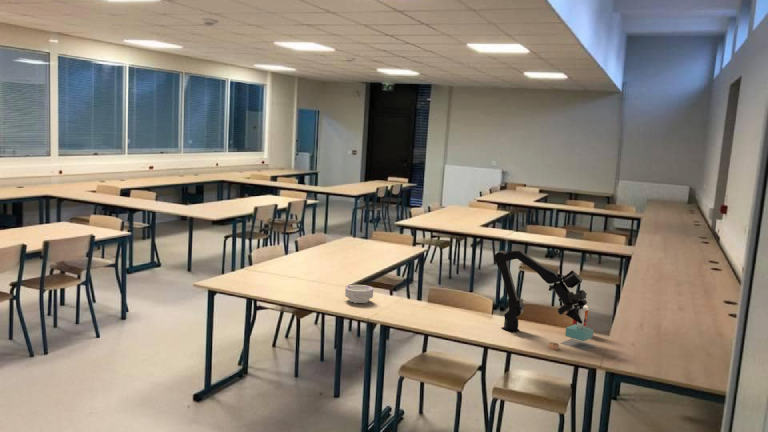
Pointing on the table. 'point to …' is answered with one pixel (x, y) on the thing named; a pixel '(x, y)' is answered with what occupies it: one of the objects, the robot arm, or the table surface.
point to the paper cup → (585, 315)
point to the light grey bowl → (359, 293)
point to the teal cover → (579, 329)
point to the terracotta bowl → (553, 346)
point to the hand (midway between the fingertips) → (583, 322)
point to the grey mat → (578, 344)
